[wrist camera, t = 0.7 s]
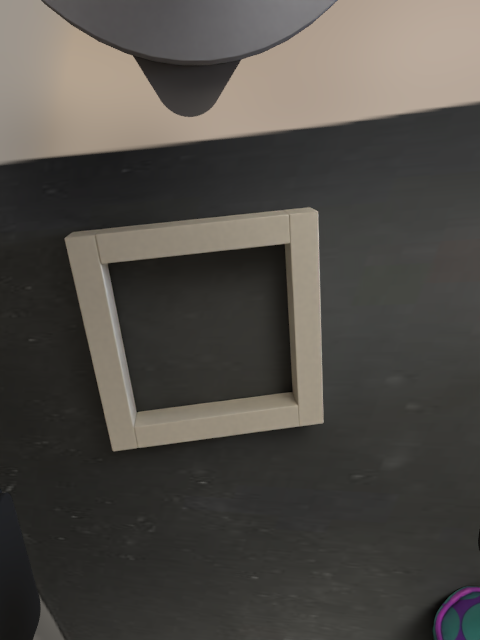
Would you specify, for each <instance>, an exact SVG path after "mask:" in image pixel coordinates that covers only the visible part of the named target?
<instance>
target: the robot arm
mask: <svg viewBox="0 0 480 640" xmlns="http://www.w3.org/2000/svg"><path fill="white" fill-rule="evenodd" d="M478 545H479V550H480V531H479V538H478ZM39 617H40V598H39V595H38V591H37V588H36V584H35V580H34V577H33V573H32V569H31V566H30V562H29V558H28V555H27V551H26V547H25V544H24V540H23V536H22V533H21V529H20V525H19V522H18V518H17V514H16V511H15V507H14V503H13V500H12V497H11V495H10V494H9V493H2V491H1V489H0V640H33V637H34V634H35V631H36V628H37V625H38V622H39Z"/></svg>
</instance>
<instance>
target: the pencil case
mask: <svg viewBox="0 0 480 640" xmlns="http://www.w3.org/2000/svg"><path fill="white" fill-rule="evenodd" d="M432 631H433V637H434V640H480V587H475V586H467V587H463V588H461V589H459V590H457V591H455V592H454V593H453V594H451V595H450V596H449V597H448V598H447V599H446V600H445V602H444V603H443V604H442V605H441V607H440V608H439V610H438V611H437V613H436V616H435V619H434V626H433V629H432Z"/></svg>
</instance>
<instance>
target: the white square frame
mask: <svg viewBox="0 0 480 640" xmlns="http://www.w3.org/2000/svg"><path fill="white" fill-rule="evenodd" d="M65 243H66V248H67V252H68V256H69V261H70V265H71V270H72V274H73V278H74V283H75V287H76V292H77V296H78V301H79V305H80V309H81V314H82V318H83V323H84V327H85V331H86V336H87V340H88V345H89V349H90V353H91V358H92V362H93V367H94V371H95V376H96V380H97V384H98V389H99V393H100V398H101V402H102V406H103V411H104V415H105V420H106V424H107V428H108V433H109V437H110V442H111V446H112V450H113V451H120V450H127V449H135V448H143V447H150V446H158V445H165V444H173V443H180V442H187V441H195V440H202V439H210V438H217V437H224V436H232V435H239V434H246V433H254V432H261V431H269V430H276V429H283V428H291V427H298V426H306V425H313V424H321V423H323V387H322V348H321V309H320V270H319V231H318V211H316V210H314V209H312V208H310V207H308V208H298V209H288V210H279V211H270V212H260V213H250V214H241V215H231V216H222V217H212V218H202V219H193V220H183V221H174V222H164V223H154V224H145V225H135V226H126V227H116V228H106V229H101V230H100V229H97V230H88V231H78V232H72V233H71V234H70V235H68V236H67V237H65ZM280 244H285V257H286V276H287V295H288V314H289V333H290V352H291V371H292V390H293V392H287V393H279V394H272V395H264V396H256V397H249V398H241V399H233V400H226V401H218V402H210V403H203V404H195V405H187V406H180V407H172V408H164V409H157V410H149V411H141V412H137V411H136V406H135V401H134V396H133V391H132V386H131V381H130V376H129V371H128V365H127V360H126V355H125V350H124V345H123V340H122V335H121V330H120V325H119V320H118V315H117V309H116V304H115V299H114V294H113V289H112V284H111V279H110V274H109V269H108V264H107V263H115V262H124V261H133V260H142V259H152V258H161V257H170V256H179V255H188V254H197V253H207V252H216V251H225V250H234V249H243V248H252V247H262V246H271V245H280Z"/></svg>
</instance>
